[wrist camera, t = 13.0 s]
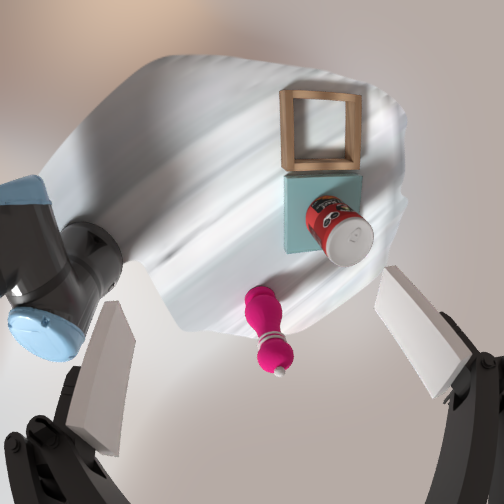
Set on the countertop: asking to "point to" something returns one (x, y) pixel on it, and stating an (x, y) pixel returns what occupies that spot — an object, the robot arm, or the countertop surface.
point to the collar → (351, 132)
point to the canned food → (339, 230)
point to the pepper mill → (268, 330)
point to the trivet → (303, 194)
